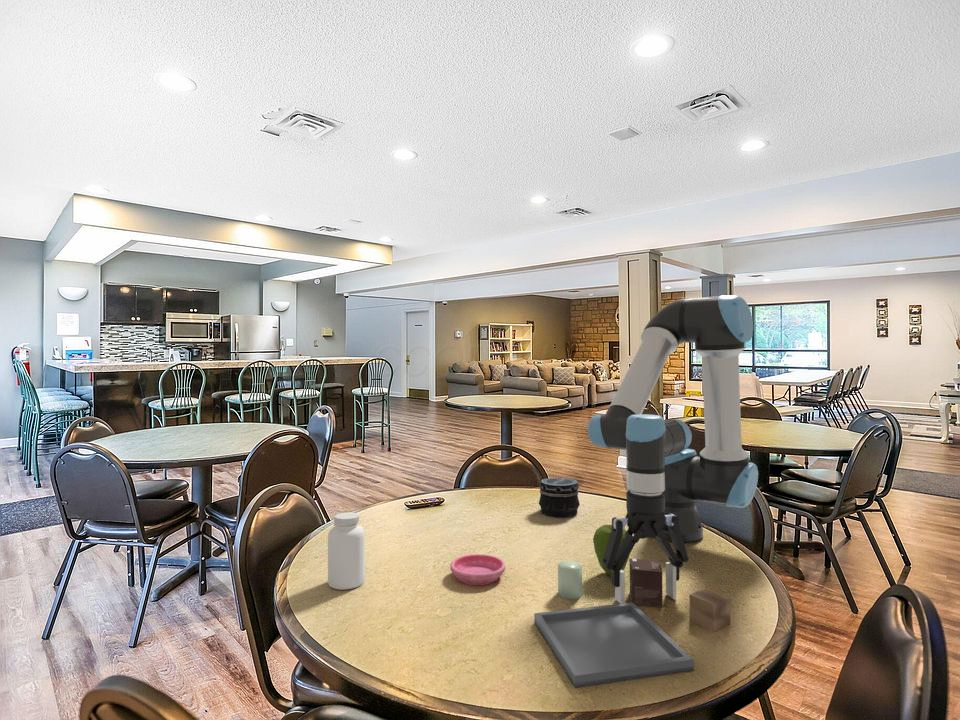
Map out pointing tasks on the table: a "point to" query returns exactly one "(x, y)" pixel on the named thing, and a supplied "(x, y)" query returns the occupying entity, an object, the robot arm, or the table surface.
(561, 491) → the container
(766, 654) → the table surface
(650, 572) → the box
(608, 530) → the apple
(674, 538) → the robot arm
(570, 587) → the sage canister
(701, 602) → the walnut block
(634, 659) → the tray
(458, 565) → the pink shallow round dish
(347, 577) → the pill bottle
